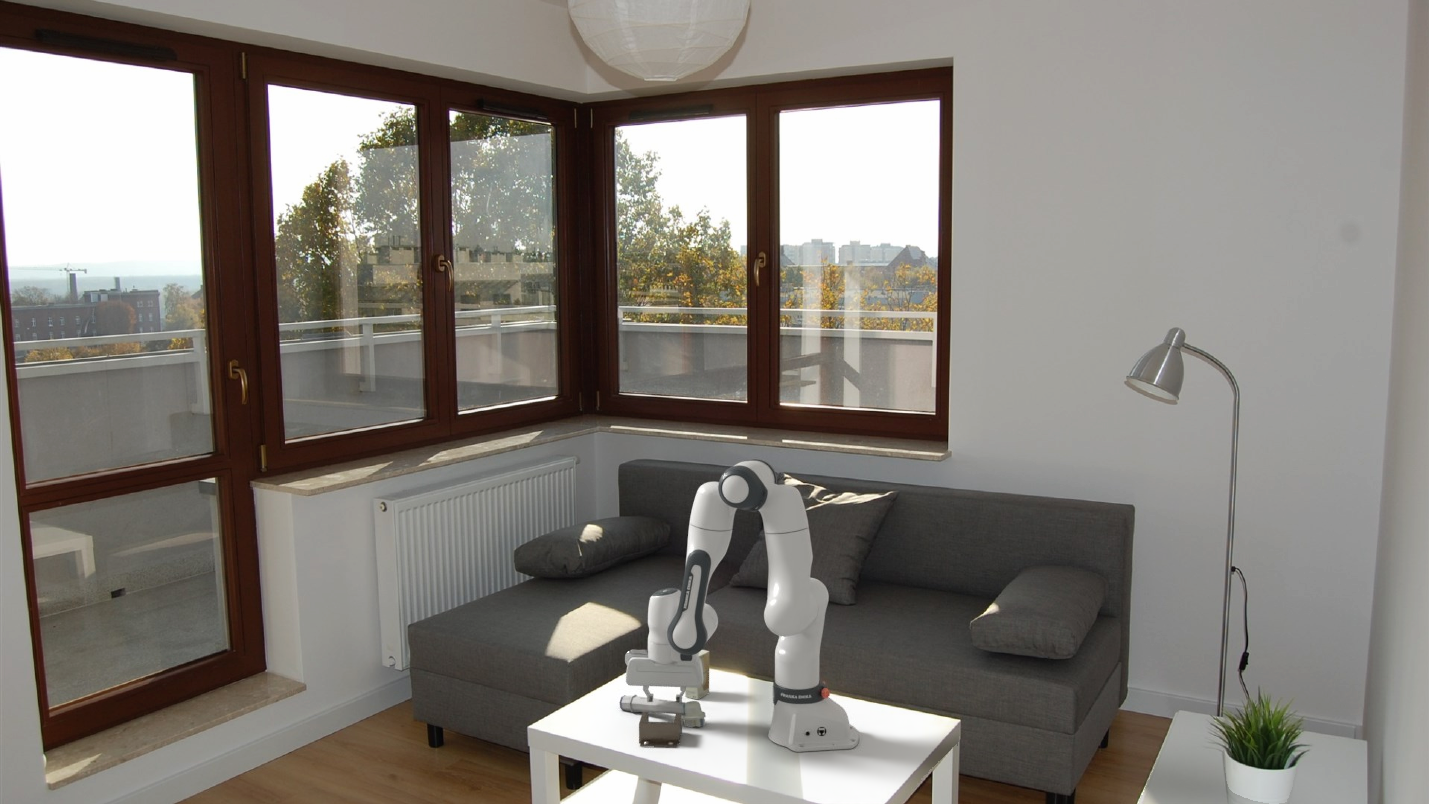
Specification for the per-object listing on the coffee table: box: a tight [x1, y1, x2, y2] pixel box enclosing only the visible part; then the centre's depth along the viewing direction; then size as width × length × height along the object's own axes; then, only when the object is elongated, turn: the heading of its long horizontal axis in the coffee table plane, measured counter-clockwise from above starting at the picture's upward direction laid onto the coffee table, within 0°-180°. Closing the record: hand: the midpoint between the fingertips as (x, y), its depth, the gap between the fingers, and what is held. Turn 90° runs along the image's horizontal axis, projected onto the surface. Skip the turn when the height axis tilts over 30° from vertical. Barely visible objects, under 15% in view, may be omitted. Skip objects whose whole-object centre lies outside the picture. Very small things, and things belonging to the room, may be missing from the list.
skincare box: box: [684, 649, 710, 700], centre depth 297 cm, size 6×4×12 cm
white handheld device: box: [619, 694, 707, 728], centre depth 282 cm, size 5×7×25 cm
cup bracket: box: [638, 712, 683, 749], centre depth 268 cm, size 10×10×5 cm
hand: (664, 701), depth 280 cm, fingers open, 6 cm apart
